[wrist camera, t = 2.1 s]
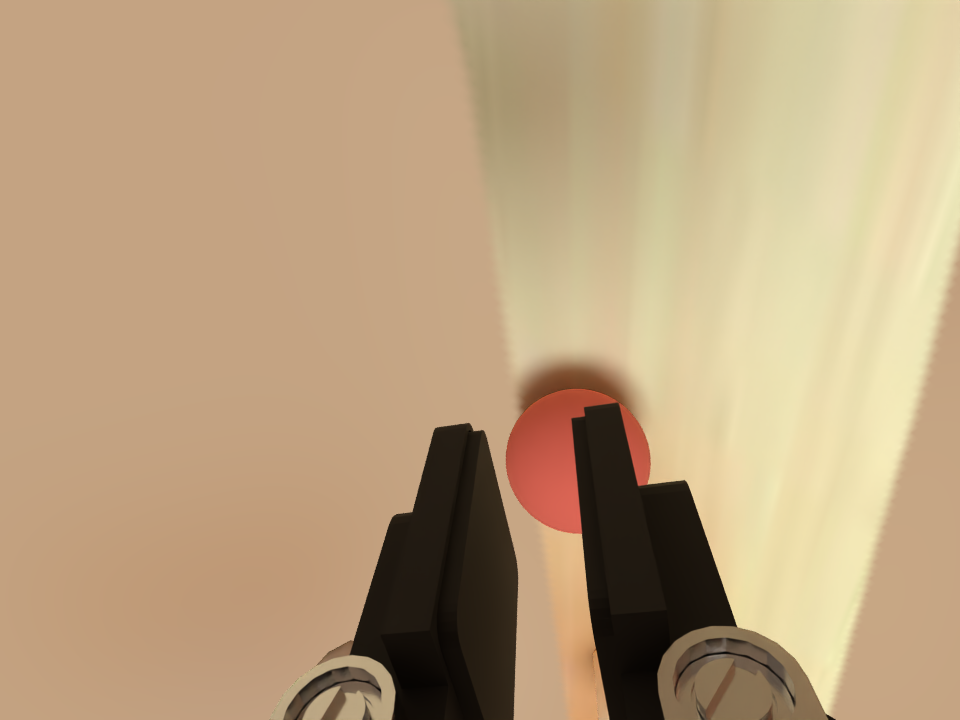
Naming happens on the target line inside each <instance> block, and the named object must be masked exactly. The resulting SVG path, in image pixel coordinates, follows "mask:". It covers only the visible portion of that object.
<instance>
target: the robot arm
mask: <svg viewBox="0 0 960 720" xmlns="http://www.w3.org/2000/svg"><path fill="white" fill-rule="evenodd" d="M584 413H585V416H583V417H575V418H571V421H572V432H573V442H574V453H575V464H576V474H577V485H578V496H579V506H580V517H581V528H582V538H583V549H584V560H585V570H586V581H587V592H588V601H589V609H590V616H591V623H592V629H593V635H594V641H595V646H596V651H597V656H598V662H599V667H600V672H601V678H602V683H603V688H604V693H605V699H606V704H607V709H608V715H609V720H835V719H834V718H832V717H830V716H829V715H827V714H825V712H824V710H823V708H822V706H821V704H820V701H819V699H818V697H817V695H816V693H815V691H814V689H813V687H812V685H811V683H810V681H809V679H808V677H807V675H806V674H805V672H804V671H803V670H802V668H801V667H800V665H799V664H798V662H797V661H796V659H795V658H794V657H793V656H792V655H790V654H789V653H788V652H787V651H786V650H785V649H783V648H782V647H781V646H780V645H779V644H778V643H776V642H774V641H772V640H770V639H768V638H766V637H764V636H762V635H760V634H759V633H757V632H754V631H750V630H746V629H742V628H738V627H737V625H736V622H735V619H734V616H733V613H732V610H731V607H730V605H729V602H728V599H727V596H726V593H725V590H724V587H723V584H722V581H721V578H720V576H719V573H718V570H717V567H716V564H715V561H714V558H713V555H712V552H711V549H710V546H709V544H708V541H707V538H706V535H705V532H704V529H703V526H702V523H701V520H700V517H699V515H698V512H697V509H696V506H695V503H694V500H693V497H692V494H691V491H690V489H689V486H688V484H687V482H686V481H685V480H683V481H675V482H666V483H658V484H649V485H641V486H638V483H637V479H636V475H635V470H634V466H633V462H632V457H631V453H630V448H629V444H628V440H627V435H626V431H625V427H624V422H623V418H622V414H621V409H620V405H619V402H616V403H609V404H602V405H595V406H588V407H584ZM517 598H518V569H517V561H516V556H515V551H514V547H513V543H512V539H511V535H510V531H509V527H508V523H507V519H506V515H505V511H504V507H503V502H502V499H501V494H500V490H499V486H498V482H497V478H496V474H495V470H494V466H493V462H492V458H491V453H490V450H489V445H488V442H487V438H486V434H485V432H484V431H483V430H481V431H473V428H472V426H471V425H470V423H466V424H459V425H451V426H444V427H437V428H435V430H434V432H433V436H432V440H431V444H430V447H429V452H428V455H427V459H426V463H425V467H424V470H423V474H422V478H421V482H420V485H419V489H418V493H417V497H416V501H415V504H414V508H413V512H411V513H403V514H396V515H395V516H393V517H392V519H391V522H390V524H389V527H388V530H387V533H386V536H385V540H384V543H383V547H382V550H381V553H380V556H379V559H378V564H377V566H376V570H375V573H374V576H373V579H372V582H371V586H370V589H369V593H368V596H367V599H366V602H365V605H364V609H363V612H362V615H361V619H360V622H359V625H358V628H357V632H356V635H355V638H354V641H353V645H352V648H351V651H350V655H349V656H344V657H339V658H333V659H331V660H329V661H326V662H324V663H322V664H320V665H317V666H315V667H314V668H312V669H311V670H310V671H308V672H307V673H306V674H304V675H303V676H301V677H300V678H298V679H297V680H296V681H295V683H294V684H293V685H292V686H291V687H290V688H289V689H288V690H287V691H286V692H285V693H284V695H283V696H282V698H281V699H280V701H279V703H278V705H277V706H276V708H275V710H274V712H273V713H272V716H271V718H270V720H513V718H514V687H515V658H516V628H517Z"/></svg>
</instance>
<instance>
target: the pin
mask: <svg viewBox="0 0 960 720" xmlns="http://www.w3.org/2000/svg"><path fill="white" fill-rule="evenodd" d="M593 666H594V676H595V687H596V698H597V709H598V720H609V715H608V709H607V704H606V699H605V693H604V688H603V683H602V678H601V672H600V667H599V662H598V656H597V651H596V650H595V651H594V653H593Z"/></svg>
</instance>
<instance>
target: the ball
mask: <svg viewBox="0 0 960 720" xmlns="http://www.w3.org/2000/svg"><path fill="white" fill-rule="evenodd" d="M616 402H618V401H616V400H615V399H613V398H611V397H609V396H607V395H605V394H602V393H599V392H596V391H592V390H586V389H566V390H561V391H557V392H554V393H551V394H549V395H546V396H544V397H542V398H541V399H539V400H537V401H536V402H534V403H533V404H532V405H531V406H529V407H528V408H527V409H526V410H525V411H524V413H523V414H522V415H521V416H520V418H519V419H518V420H517V422H516V423H515V425H514V427H513V429H512V432H511V434H510V437H509V440H508V445H507V451H506V469H507V475H508V479H509V482H510V485H511V488H512V490H513V492H514V494H515V496H516V497H517V499H518V501H519V502H520V503H521V505H522V506H523V507H524V508H525V509H526V510H527V512H528V513H529V514H530V515H532V516H533V517H534V518H535V519H537V520H538V521H540V522H541V523H543V524H544V525H546V526H548V527H550V528H553V529H556V530H559V531H563V532H568V533H578V534H582V528H581V517H580V506H579V496H578V485H577V474H576V464H575V453H574V442H573V432H572V421H571V418H575V417H583V416H585V413H584V407H588V406H595V405H602V404H609V403H616ZM619 405H620V409H621V414H622V418H623V422H624V427H625V431H626V435H627V440H628V444H629V448H630V453H631V457H632V462H633V466H634V470H635V475H636V479H637V483H638V486H641V485H647V483H648V480H649V475H650V465H651V462H650V451H649V446H648V442H647V439H646V437H645V434H644V432H643V430H642V428H641V426H640V424H639V423H638V421H637V420H636V419H635V417H634V416H633V415H632V413H631V412H630V411H629V410H628V409H626V408H625V407H624V406H623V405H622V404H620V403H619Z"/></svg>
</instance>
